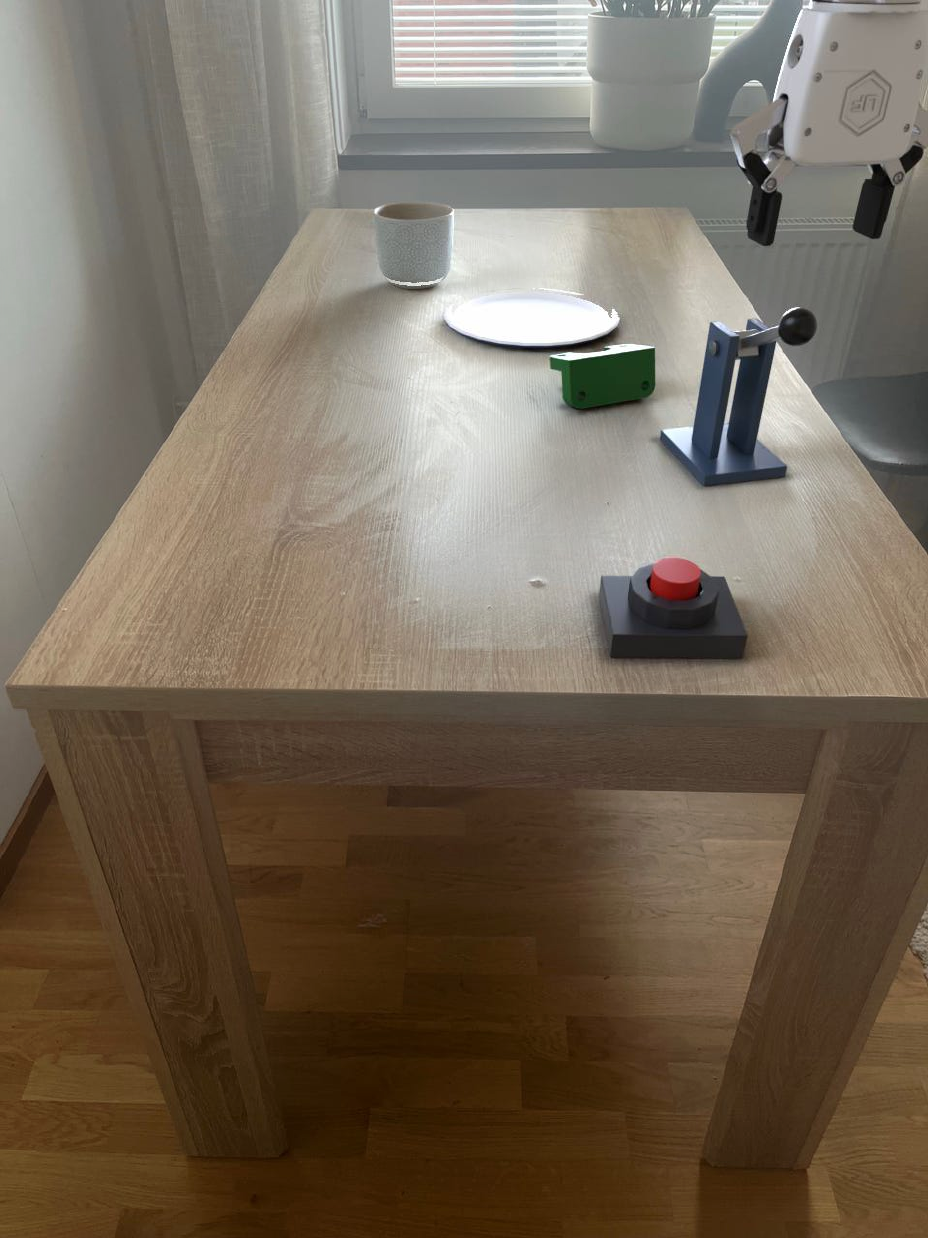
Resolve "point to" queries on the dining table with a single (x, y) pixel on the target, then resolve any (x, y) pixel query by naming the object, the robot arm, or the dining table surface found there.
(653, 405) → the dining table surface
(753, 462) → the bracket
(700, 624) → the button box
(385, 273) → the planter
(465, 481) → the dining table surface
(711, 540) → the dining table surface
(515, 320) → the plate
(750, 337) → the lever
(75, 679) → the dining table surface
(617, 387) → the green mounting block
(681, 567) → the button
